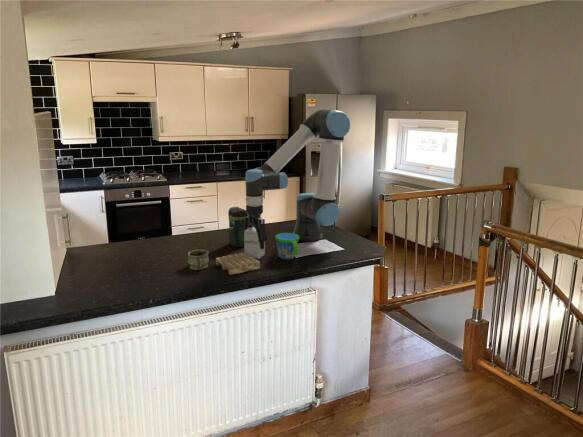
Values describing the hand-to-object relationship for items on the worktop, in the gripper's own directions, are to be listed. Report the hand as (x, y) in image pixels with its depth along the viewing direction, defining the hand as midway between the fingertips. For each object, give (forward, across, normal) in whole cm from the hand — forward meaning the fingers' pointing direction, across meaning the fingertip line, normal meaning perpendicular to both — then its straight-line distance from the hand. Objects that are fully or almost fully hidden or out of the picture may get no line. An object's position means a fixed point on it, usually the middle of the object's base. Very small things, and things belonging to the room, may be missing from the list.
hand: (254, 251), depth 212 cm
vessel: (+2, -1, -27) cm, 27 cm away
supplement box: (+2, 0, 0) cm, 2 cm away
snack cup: (+2, +10, +11) cm, 15 cm away
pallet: (+2, +8, -13) cm, 15 cm away
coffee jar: (+2, -18, +1) cm, 18 cm away
